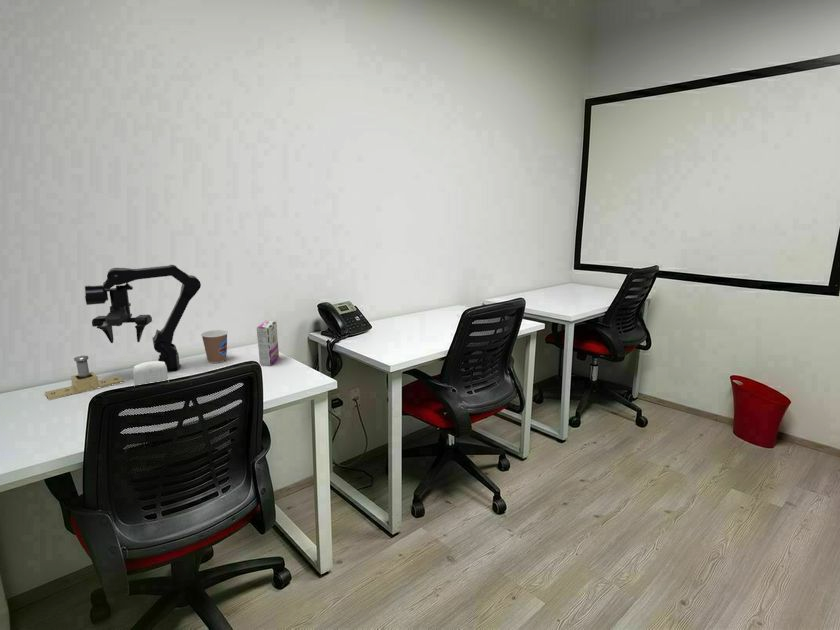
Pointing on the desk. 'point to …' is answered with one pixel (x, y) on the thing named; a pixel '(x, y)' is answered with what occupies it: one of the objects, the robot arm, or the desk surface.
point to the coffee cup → (215, 345)
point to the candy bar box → (267, 342)
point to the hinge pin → (82, 366)
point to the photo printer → (150, 372)
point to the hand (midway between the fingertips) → (125, 342)
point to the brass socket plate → (83, 385)
